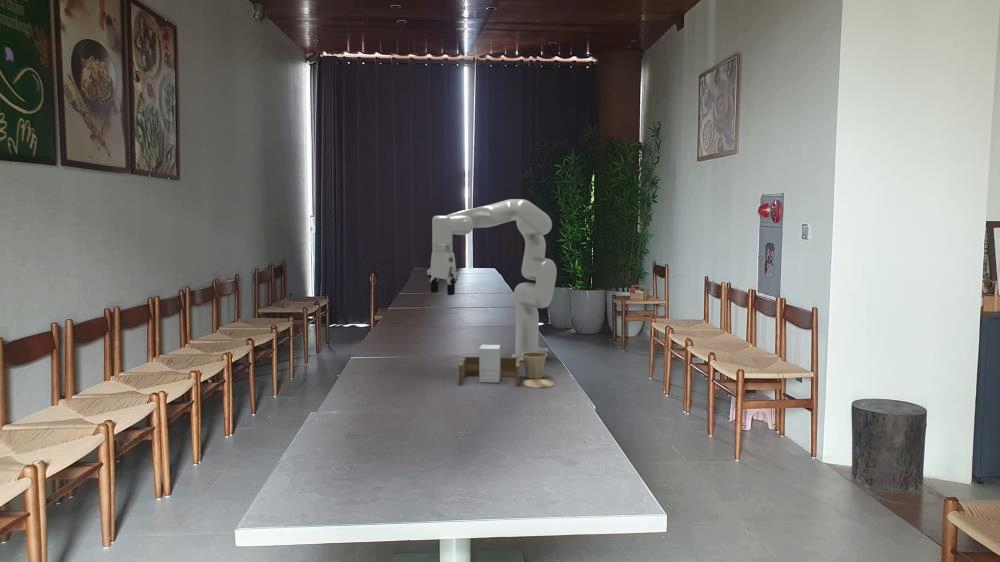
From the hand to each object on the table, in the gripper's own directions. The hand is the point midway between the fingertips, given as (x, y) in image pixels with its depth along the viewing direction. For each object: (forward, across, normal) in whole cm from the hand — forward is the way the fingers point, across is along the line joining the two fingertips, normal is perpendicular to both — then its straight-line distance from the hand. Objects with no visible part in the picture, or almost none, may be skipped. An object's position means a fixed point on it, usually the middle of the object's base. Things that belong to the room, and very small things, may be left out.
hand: (442, 293), depth 284 cm
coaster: (+30, -38, -13) cm, 50 cm away
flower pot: (+31, -29, -20) cm, 47 cm away
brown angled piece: (+30, -22, -4) cm, 37 cm away
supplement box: (+30, -22, -4) cm, 38 cm away
